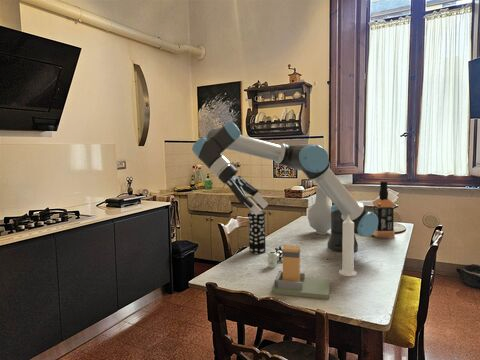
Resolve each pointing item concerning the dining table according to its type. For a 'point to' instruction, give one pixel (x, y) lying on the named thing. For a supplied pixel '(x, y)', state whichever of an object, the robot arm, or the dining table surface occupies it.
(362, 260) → the dining table surface
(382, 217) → the whiskey bottle
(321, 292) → the mounting board
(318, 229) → the vase
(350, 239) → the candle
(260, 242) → the white-spotted black cylinder
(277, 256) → the valve
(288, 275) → the orange box
